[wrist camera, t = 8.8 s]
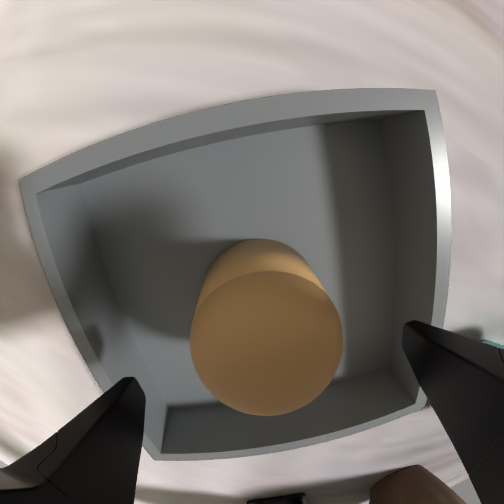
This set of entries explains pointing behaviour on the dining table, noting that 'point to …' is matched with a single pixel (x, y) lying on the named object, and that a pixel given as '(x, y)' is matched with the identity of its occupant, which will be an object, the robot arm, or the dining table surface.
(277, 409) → the tan oval piece
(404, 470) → the plant pot
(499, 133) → the dining table surface
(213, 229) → the bin
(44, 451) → the robot arm
